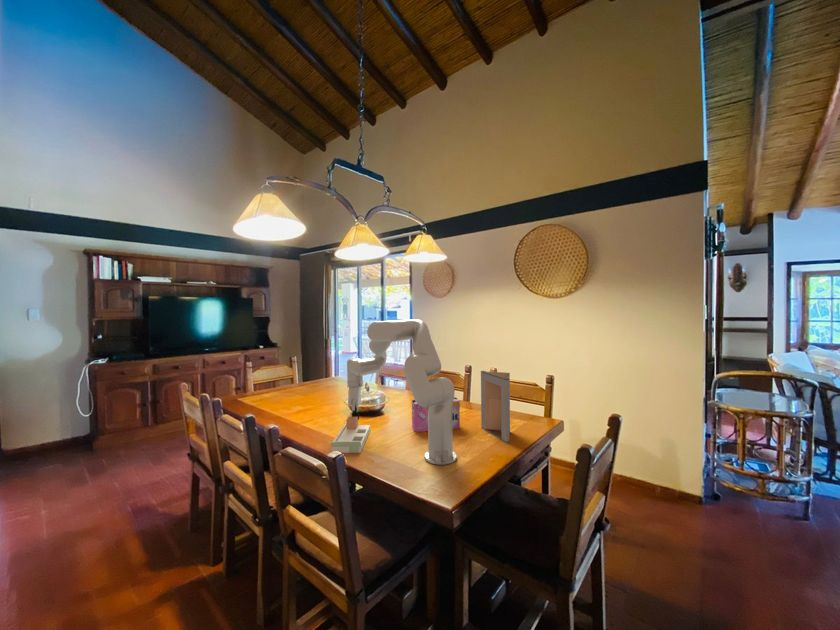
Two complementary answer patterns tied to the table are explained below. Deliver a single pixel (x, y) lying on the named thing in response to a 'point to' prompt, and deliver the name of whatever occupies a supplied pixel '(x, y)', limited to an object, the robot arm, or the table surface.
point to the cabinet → (496, 404)
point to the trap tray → (350, 439)
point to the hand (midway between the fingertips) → (355, 419)
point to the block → (352, 422)
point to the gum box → (422, 416)
